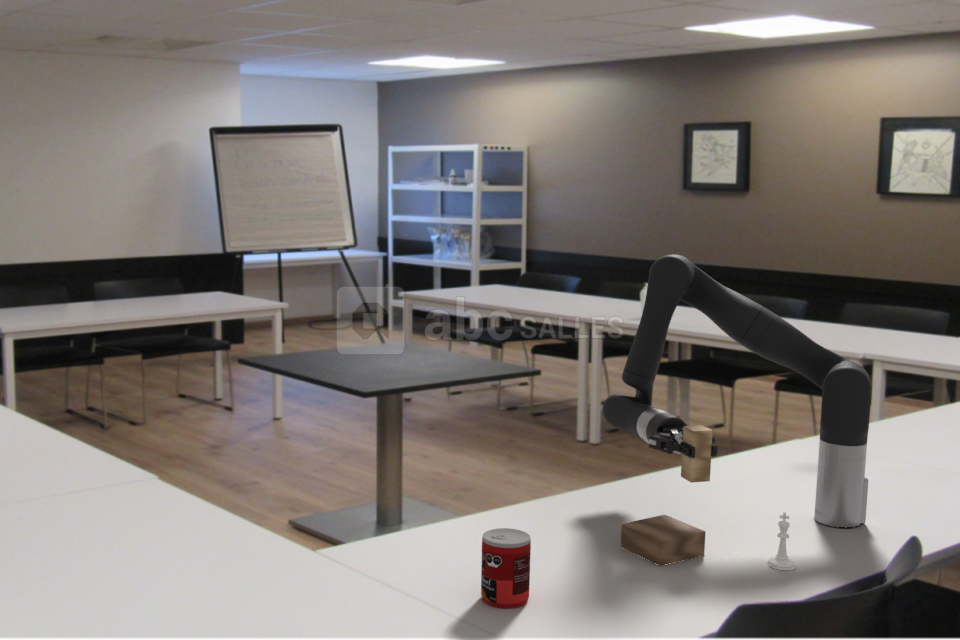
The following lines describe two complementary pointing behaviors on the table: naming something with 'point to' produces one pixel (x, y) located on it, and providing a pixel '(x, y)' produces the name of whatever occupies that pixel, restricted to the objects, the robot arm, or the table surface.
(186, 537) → the table surface
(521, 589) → the canned food
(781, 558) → the chess piece
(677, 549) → the walnut block
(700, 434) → the oak block
